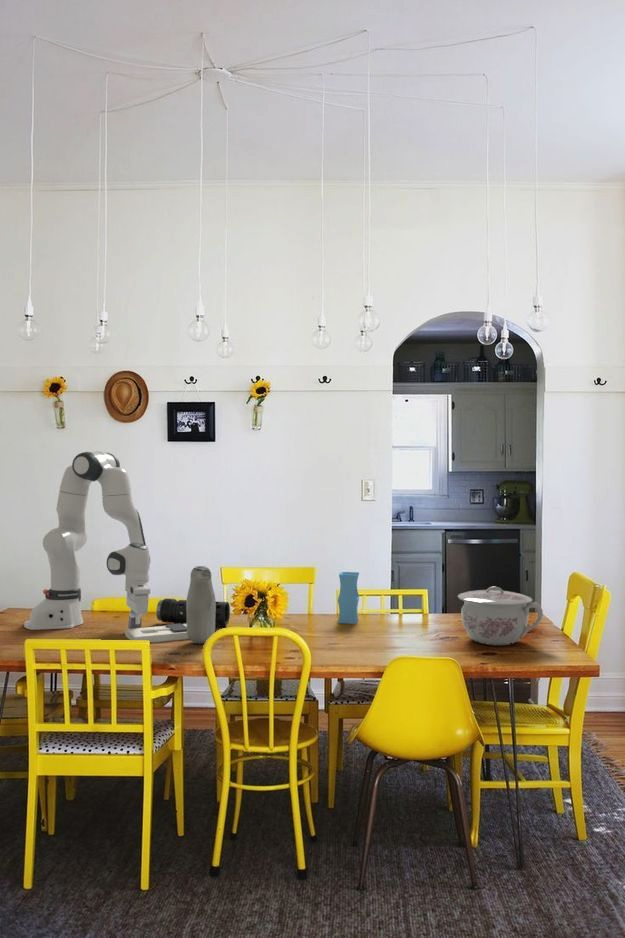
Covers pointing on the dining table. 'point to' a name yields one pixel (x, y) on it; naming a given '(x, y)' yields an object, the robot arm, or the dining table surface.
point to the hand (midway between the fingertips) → (135, 622)
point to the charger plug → (133, 621)
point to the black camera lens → (177, 613)
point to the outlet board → (159, 633)
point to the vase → (348, 597)
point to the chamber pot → (497, 615)
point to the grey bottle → (200, 606)
